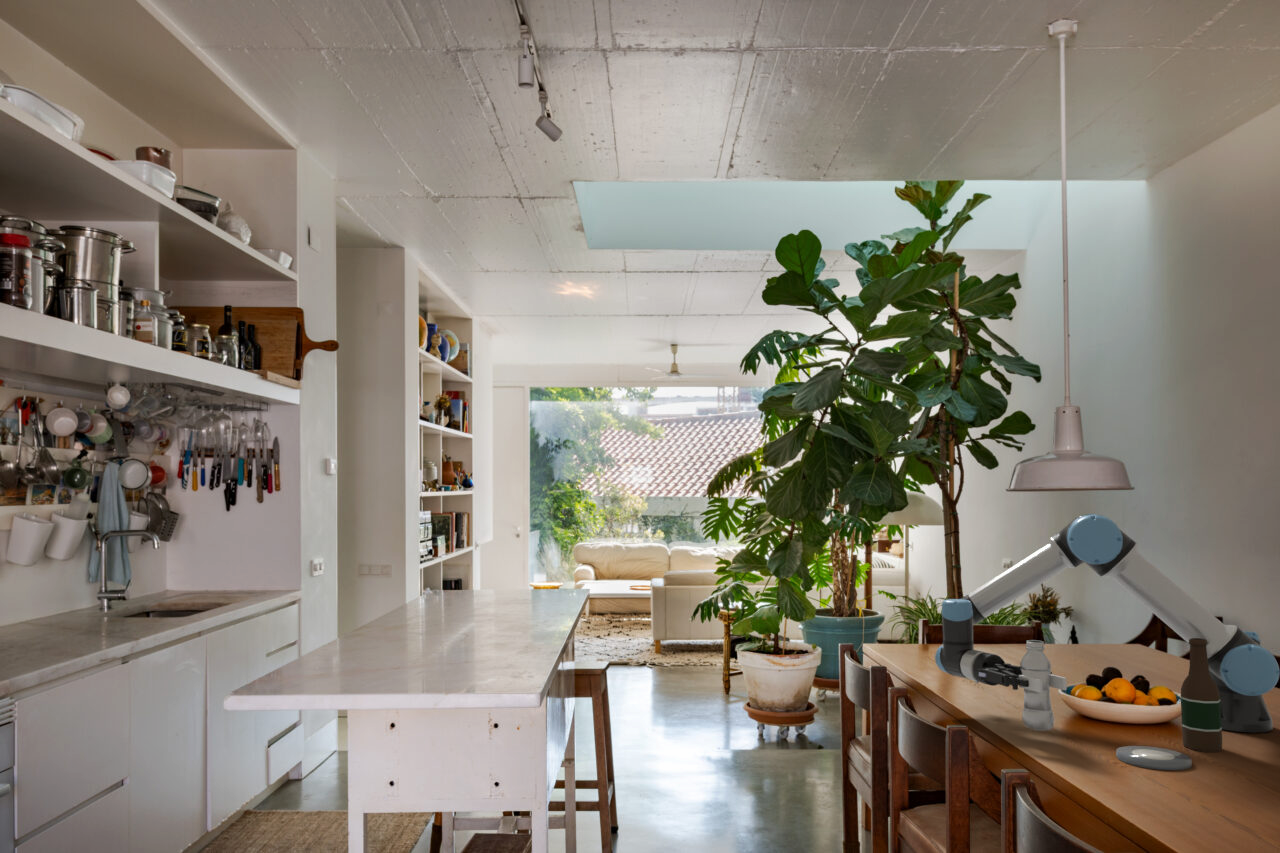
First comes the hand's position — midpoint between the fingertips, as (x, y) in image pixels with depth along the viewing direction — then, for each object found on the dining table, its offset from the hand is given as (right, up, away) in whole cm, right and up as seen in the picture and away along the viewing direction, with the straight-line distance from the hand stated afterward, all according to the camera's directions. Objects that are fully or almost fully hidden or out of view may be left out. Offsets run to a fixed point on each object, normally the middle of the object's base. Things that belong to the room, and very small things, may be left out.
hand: (1052, 685), depth 207 cm
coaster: (+16, -13, -11) cm, 24 cm away
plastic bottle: (-2, -12, +4) cm, 12 cm away
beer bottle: (+33, -14, -1) cm, 36 cm away
